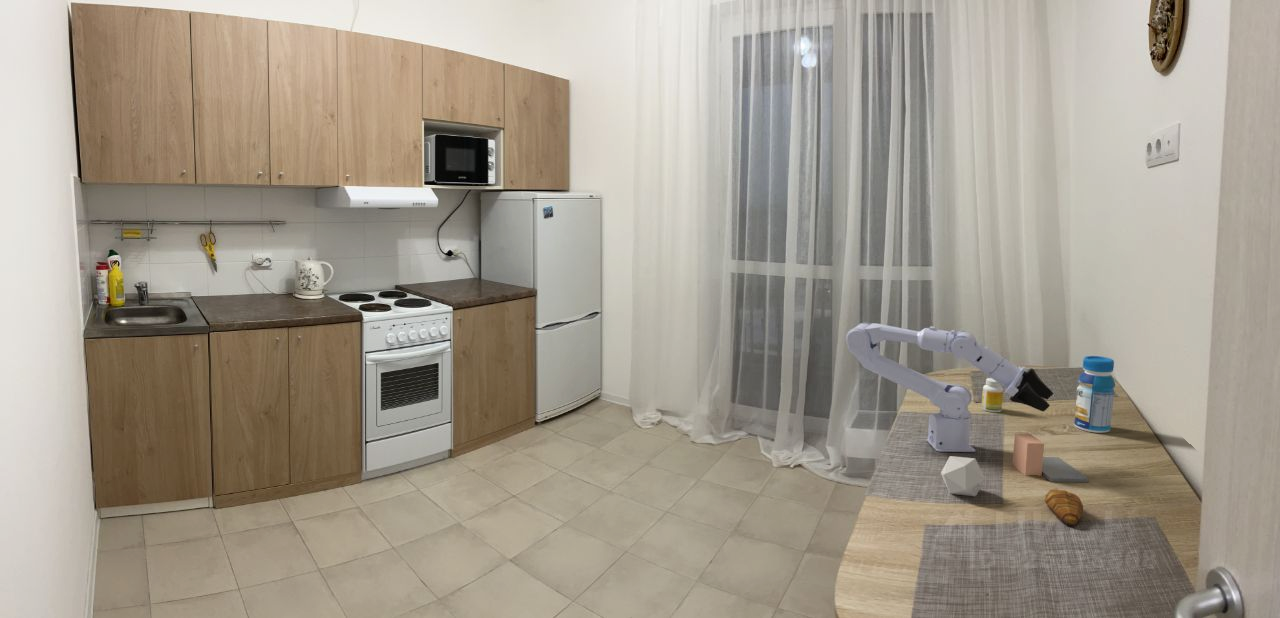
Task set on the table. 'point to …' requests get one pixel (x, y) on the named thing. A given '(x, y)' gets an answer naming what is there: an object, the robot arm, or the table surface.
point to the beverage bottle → (1095, 395)
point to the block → (1028, 454)
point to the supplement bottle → (992, 396)
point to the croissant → (1064, 506)
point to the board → (1060, 471)
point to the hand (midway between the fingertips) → (1048, 402)
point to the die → (962, 476)
